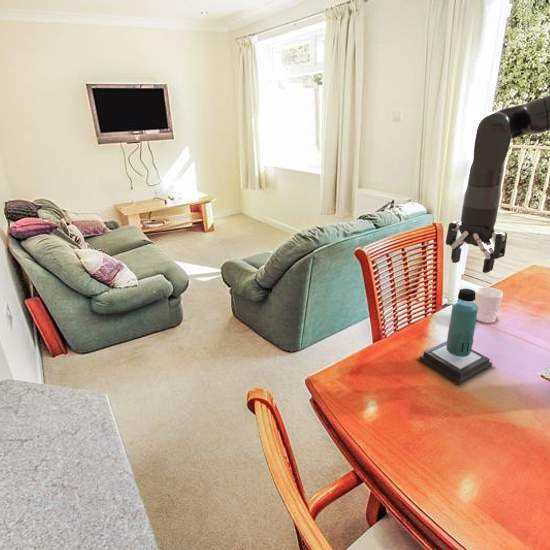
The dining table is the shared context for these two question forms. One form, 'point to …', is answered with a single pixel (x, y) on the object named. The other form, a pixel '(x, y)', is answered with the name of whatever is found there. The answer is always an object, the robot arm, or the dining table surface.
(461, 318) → the beverage bottle
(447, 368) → the scale
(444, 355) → the pan
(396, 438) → the dining table surface
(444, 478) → the dining table surface
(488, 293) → the white cup
